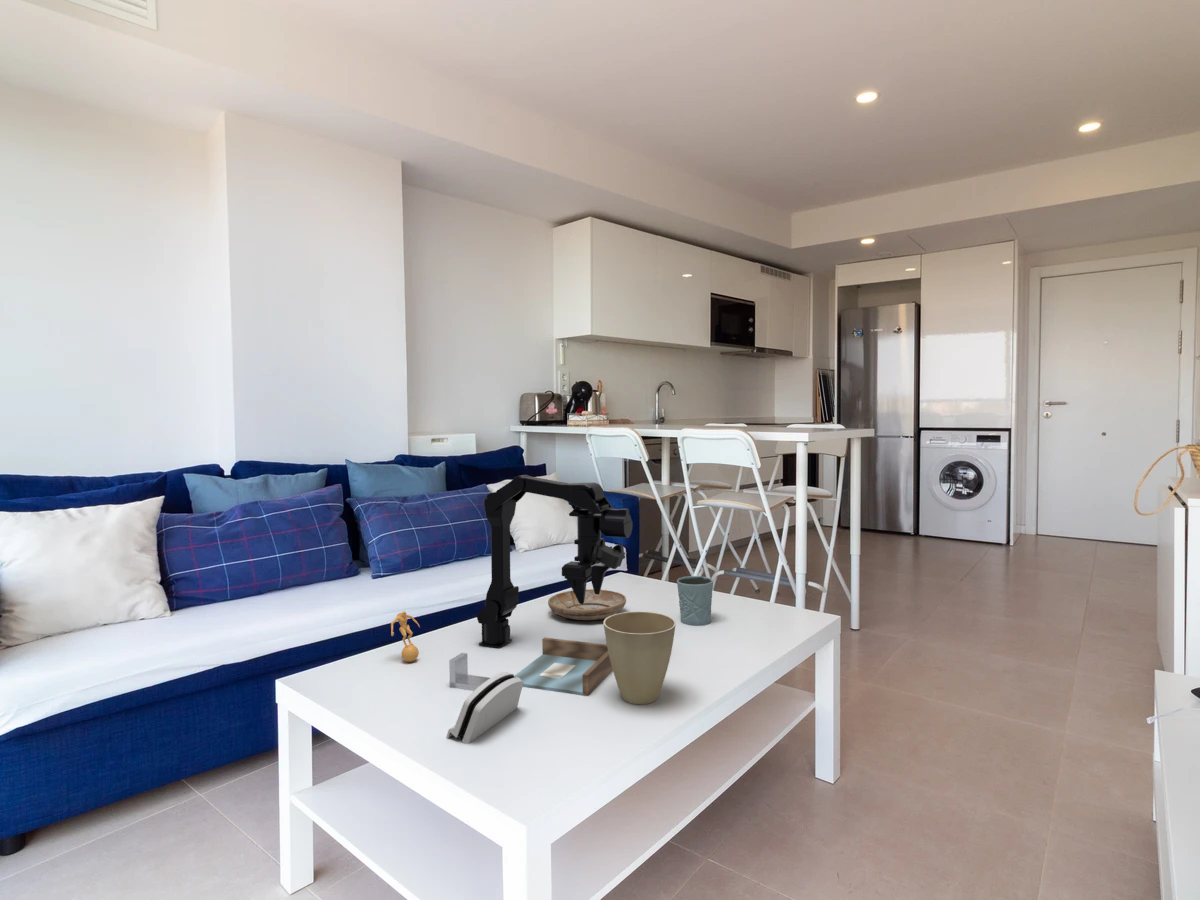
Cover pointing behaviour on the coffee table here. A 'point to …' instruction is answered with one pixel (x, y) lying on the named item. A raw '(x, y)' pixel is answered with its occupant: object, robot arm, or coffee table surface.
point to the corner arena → (568, 667)
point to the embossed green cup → (695, 600)
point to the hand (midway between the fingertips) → (589, 598)
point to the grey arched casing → (487, 706)
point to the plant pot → (639, 652)
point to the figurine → (409, 650)
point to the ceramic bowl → (587, 604)
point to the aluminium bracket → (463, 674)
